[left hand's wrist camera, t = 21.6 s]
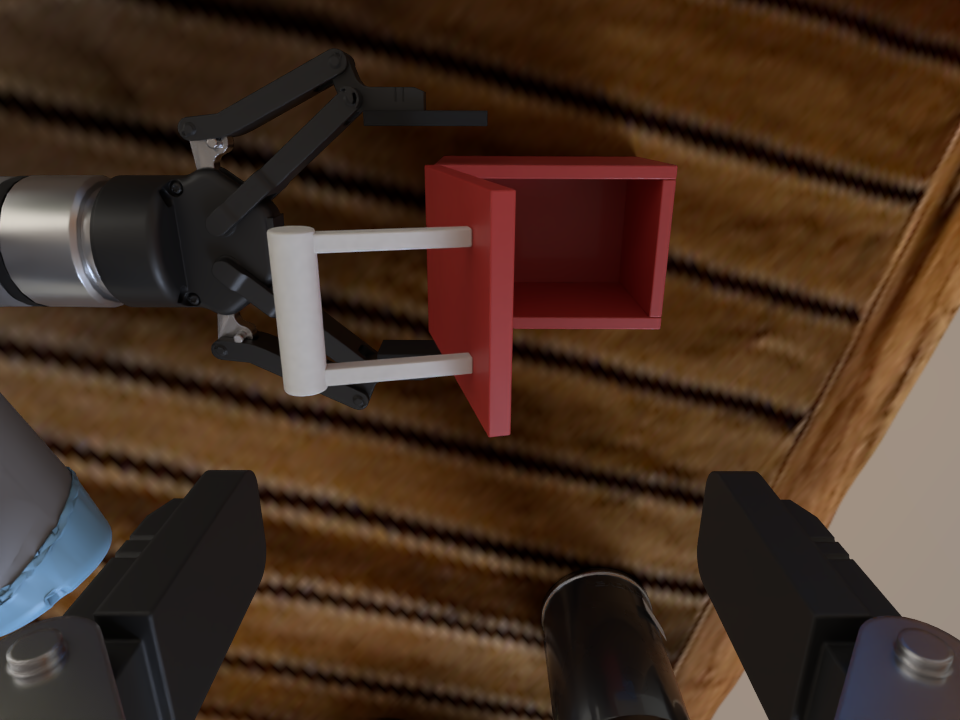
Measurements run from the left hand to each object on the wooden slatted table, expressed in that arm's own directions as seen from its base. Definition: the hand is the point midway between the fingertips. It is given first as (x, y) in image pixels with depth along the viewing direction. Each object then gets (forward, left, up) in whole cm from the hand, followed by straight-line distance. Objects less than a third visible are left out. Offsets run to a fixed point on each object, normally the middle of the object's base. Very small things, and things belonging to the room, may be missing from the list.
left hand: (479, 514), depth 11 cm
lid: (0, 0, -18) cm, 18 cm away
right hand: (0, 0, -28) cm, 28 cm away
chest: (+1, -4, -35) cm, 35 cm away
